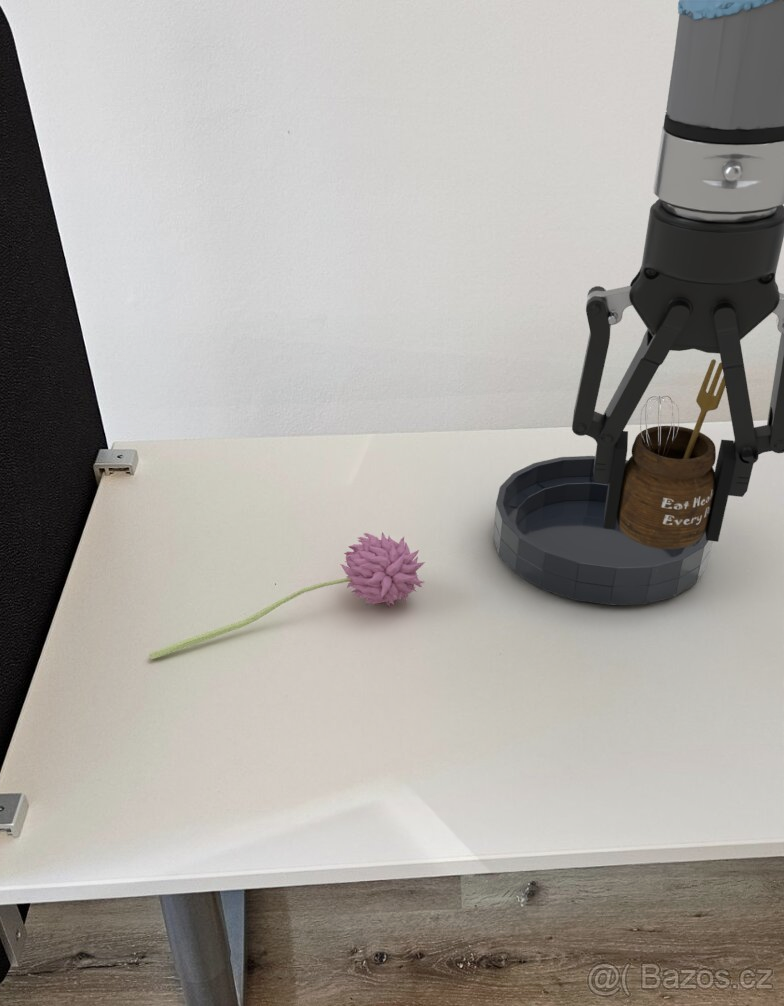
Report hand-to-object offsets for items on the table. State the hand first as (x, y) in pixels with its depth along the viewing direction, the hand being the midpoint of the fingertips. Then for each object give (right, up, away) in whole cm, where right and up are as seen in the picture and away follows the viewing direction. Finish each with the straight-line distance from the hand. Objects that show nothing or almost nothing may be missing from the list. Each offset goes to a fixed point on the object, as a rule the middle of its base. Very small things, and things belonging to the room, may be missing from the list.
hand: (659, 523), depth 76 cm
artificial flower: (-25, -9, +16) cm, 31 cm away
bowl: (+4, -3, +22) cm, 23 cm away
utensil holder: (0, 0, 0) cm, 0 cm away
